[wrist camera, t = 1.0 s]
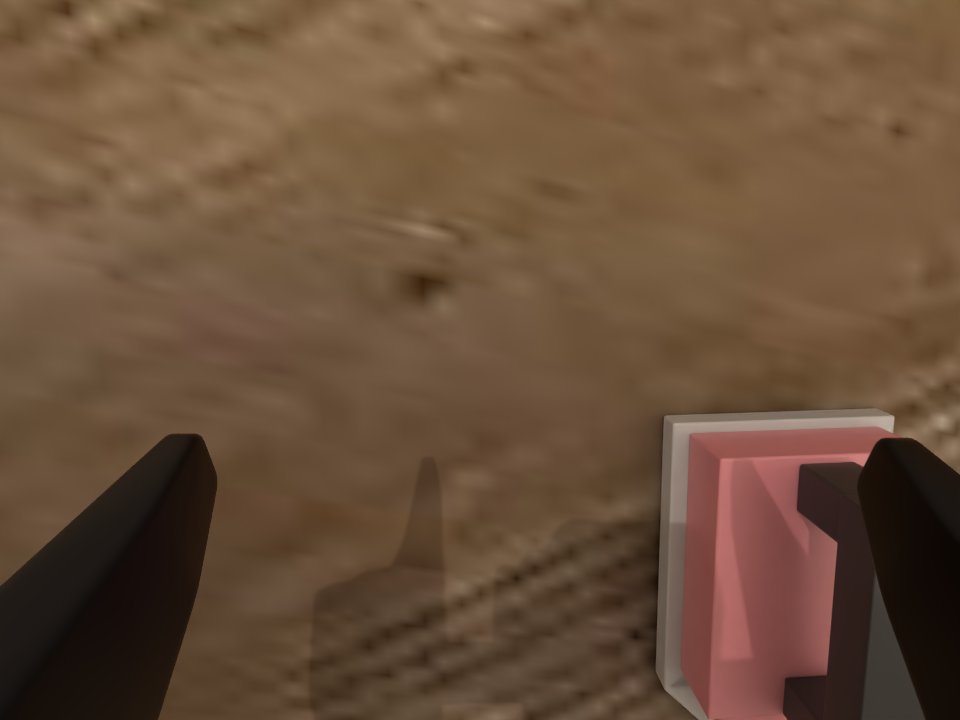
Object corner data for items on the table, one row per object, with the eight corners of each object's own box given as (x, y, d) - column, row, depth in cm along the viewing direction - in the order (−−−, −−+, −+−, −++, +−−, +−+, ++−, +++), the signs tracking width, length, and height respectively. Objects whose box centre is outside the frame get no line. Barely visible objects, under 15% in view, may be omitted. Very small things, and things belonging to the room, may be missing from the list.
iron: (663, 414, 24) (766, 503, 16) (877, 407, 24) (1070, 490, 17) (652, 761, 26) (737, 972, 19) (846, 749, 26) (1004, 950, 19)
